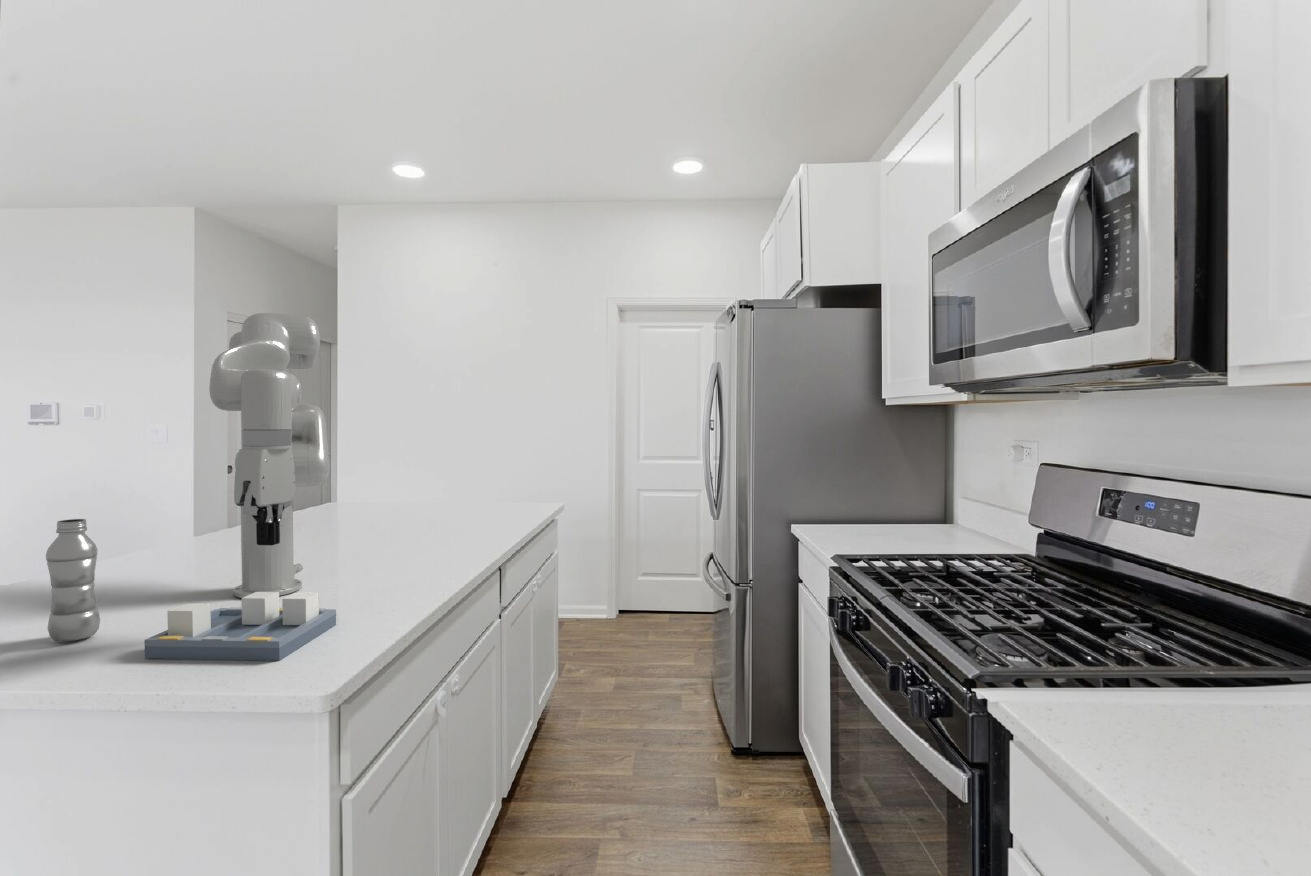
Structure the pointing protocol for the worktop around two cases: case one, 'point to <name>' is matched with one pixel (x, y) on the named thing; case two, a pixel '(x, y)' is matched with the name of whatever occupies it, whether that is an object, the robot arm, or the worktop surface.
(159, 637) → the switch bank
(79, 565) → the plastic bottle
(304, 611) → the tab
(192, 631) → the tab
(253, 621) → the tab
